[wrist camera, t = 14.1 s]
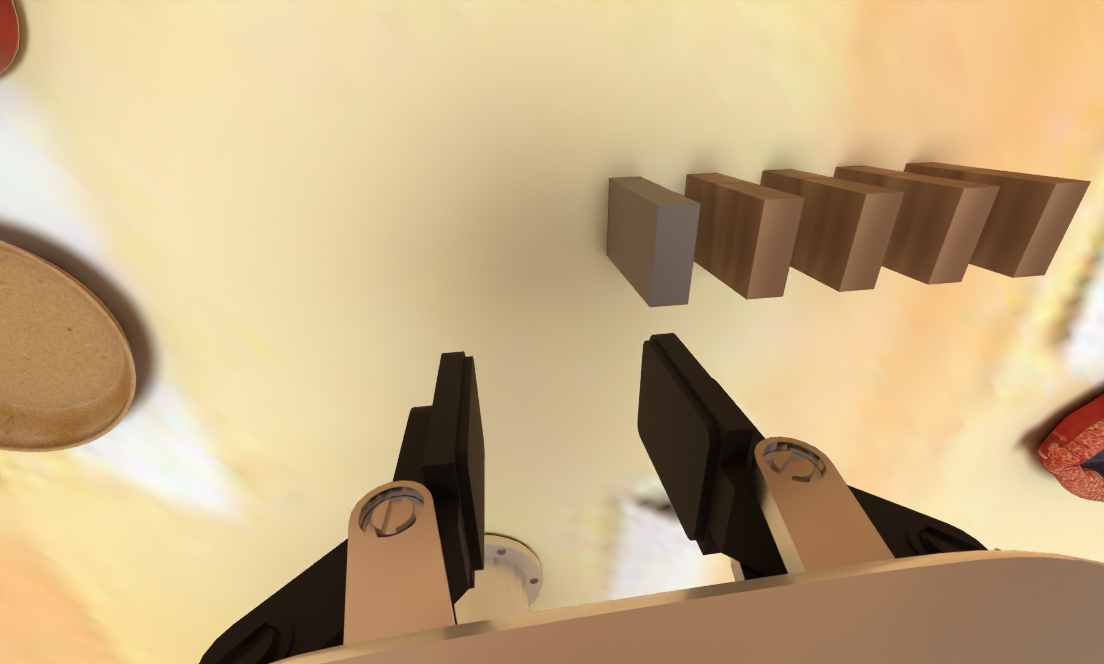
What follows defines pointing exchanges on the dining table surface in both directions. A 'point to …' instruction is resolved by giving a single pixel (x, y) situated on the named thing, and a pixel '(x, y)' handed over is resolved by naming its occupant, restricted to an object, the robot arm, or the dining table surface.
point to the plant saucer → (57, 358)
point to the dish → (1078, 451)
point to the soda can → (8, 34)
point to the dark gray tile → (652, 239)
